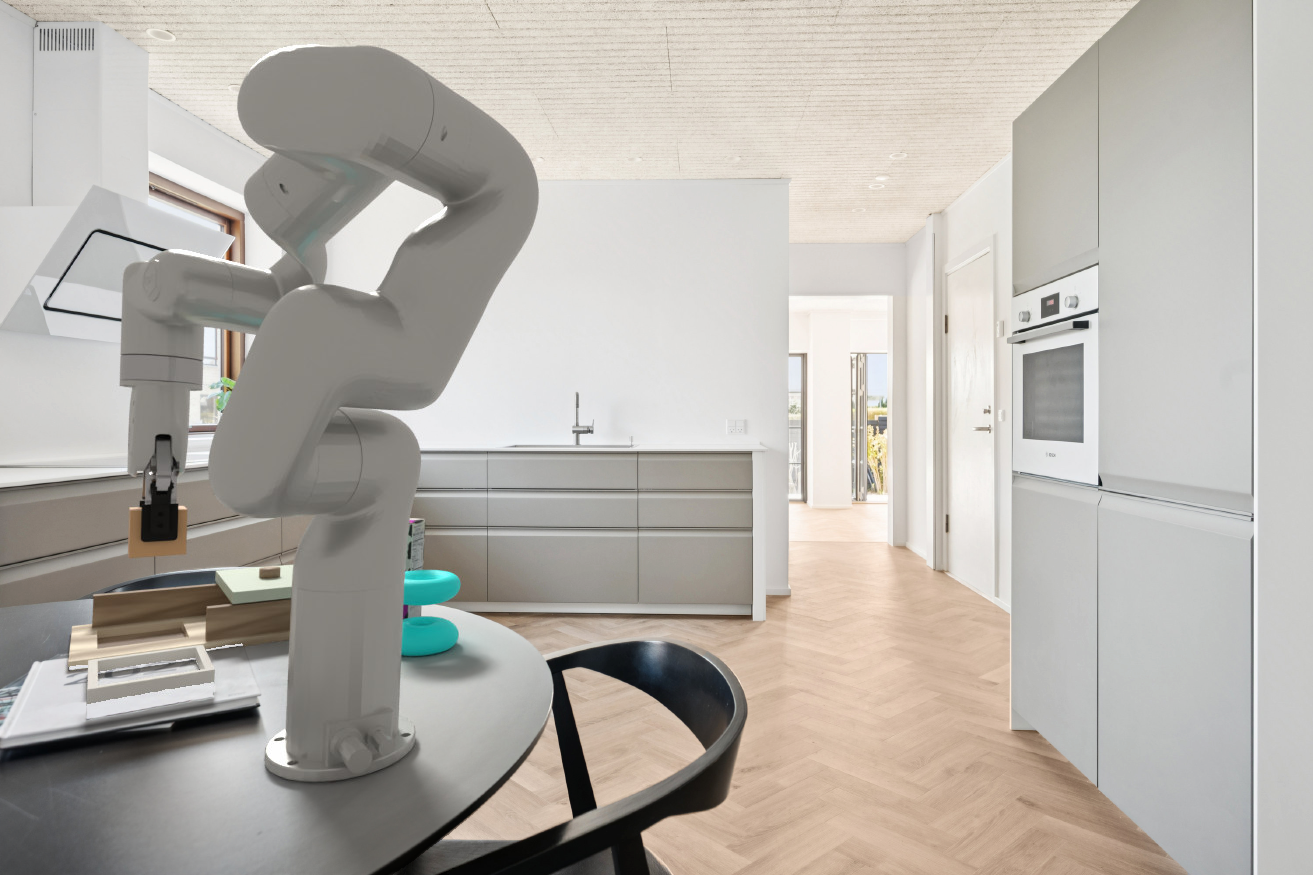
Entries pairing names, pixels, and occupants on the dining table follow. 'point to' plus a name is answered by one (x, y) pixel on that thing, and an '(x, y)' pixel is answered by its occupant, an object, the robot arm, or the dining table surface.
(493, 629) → the dining table surface
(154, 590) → the brown wooden open box
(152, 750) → the dining table surface
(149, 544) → the block
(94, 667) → the dish
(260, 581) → the cover
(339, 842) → the dining table surface
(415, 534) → the candy bar box
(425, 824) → the dining table surface
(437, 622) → the donuts
